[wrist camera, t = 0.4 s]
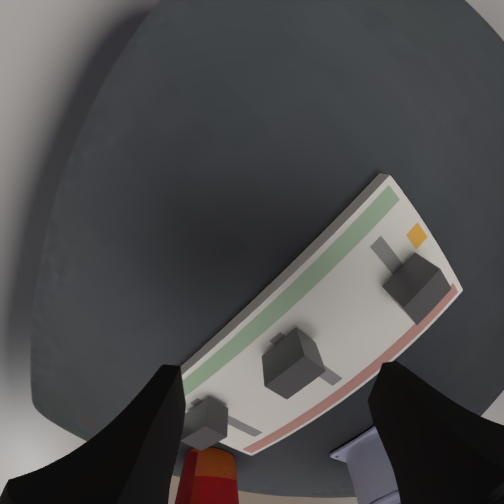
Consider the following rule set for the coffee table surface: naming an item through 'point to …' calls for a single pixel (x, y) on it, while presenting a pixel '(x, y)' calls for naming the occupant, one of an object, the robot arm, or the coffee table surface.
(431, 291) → the block
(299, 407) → the breaker panel
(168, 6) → the coffee table surface
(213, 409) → the block
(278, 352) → the breaker
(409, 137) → the coffee table surface
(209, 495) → the paper cup
